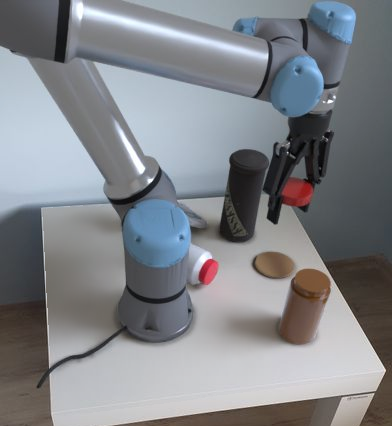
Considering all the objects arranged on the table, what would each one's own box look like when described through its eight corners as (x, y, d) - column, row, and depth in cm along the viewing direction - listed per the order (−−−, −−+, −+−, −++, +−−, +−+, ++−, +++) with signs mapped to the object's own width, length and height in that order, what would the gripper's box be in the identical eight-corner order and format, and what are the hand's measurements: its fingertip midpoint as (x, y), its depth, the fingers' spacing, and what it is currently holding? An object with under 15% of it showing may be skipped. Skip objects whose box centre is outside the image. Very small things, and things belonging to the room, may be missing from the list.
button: (211, 224, 128) (190, 220, 119) (207, 230, 129) (187, 226, 120) (183, 202, 131) (161, 196, 123) (179, 207, 132) (157, 202, 123)
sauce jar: (296, 349, 104) (312, 299, 93) (270, 326, 107) (283, 275, 97) (323, 334, 107) (341, 284, 97) (297, 312, 111) (312, 261, 101)
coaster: (273, 283, 116) (273, 281, 116) (247, 261, 121) (247, 259, 120) (302, 270, 120) (302, 268, 120) (276, 249, 125) (276, 247, 124)
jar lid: (319, 201, 106) (321, 193, 105) (286, 210, 103) (288, 201, 102) (296, 182, 111) (298, 173, 109) (264, 189, 108) (266, 181, 106)
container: (213, 224, 129) (224, 147, 114) (246, 220, 132) (261, 144, 117) (225, 245, 124) (239, 167, 109) (260, 240, 127) (277, 163, 112)
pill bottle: (173, 267, 120) (213, 287, 116) (155, 270, 113) (197, 292, 109) (184, 235, 117) (225, 255, 113) (166, 236, 110) (209, 257, 106)
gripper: (283, 127, 87) (261, 239, 104) (366, 102, 96) (334, 209, 113) (254, 109, 91) (238, 220, 108) (337, 86, 100) (309, 192, 117)
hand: (287, 214), depth 110 cm, fingers closed on jar lid, 8 cm apart
